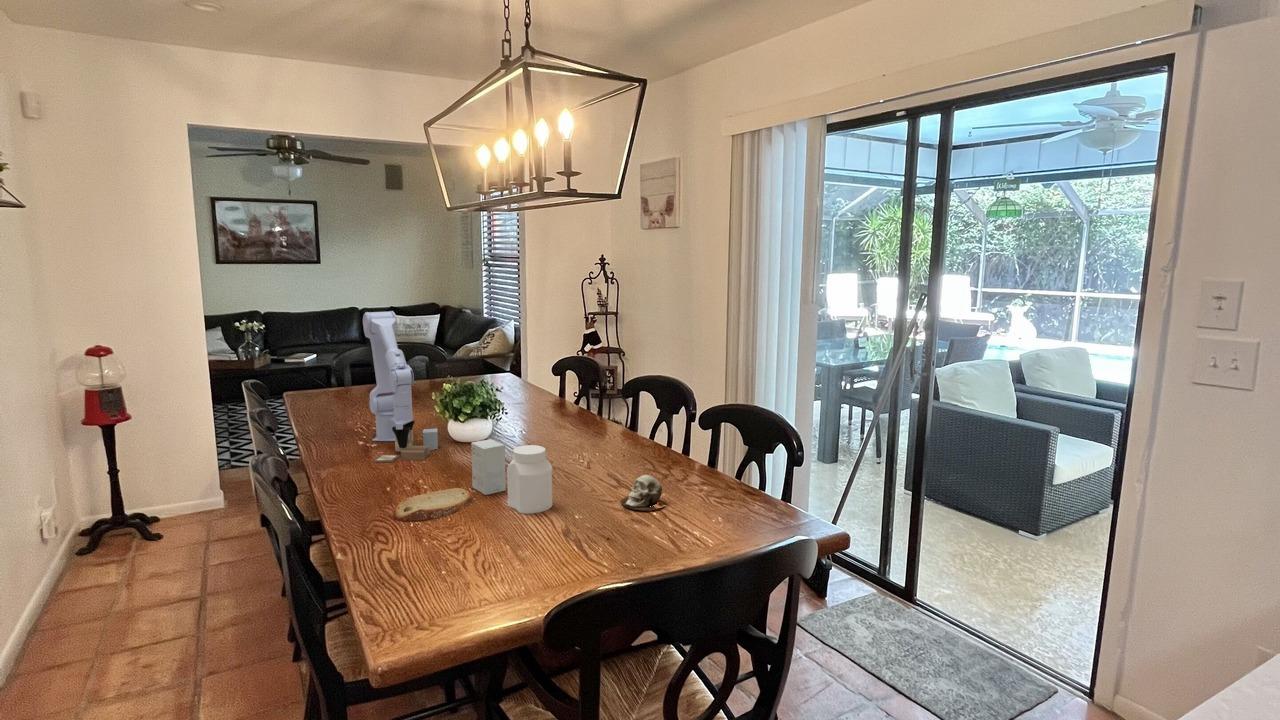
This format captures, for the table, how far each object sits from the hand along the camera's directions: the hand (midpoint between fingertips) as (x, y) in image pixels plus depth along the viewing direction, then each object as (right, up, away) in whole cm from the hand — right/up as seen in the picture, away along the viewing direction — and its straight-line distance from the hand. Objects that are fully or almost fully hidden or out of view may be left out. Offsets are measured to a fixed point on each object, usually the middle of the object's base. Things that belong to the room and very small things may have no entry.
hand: (404, 445), depth 223 cm
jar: (+49, -10, -47) cm, 69 cm away
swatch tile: (-2, -3, -11) cm, 11 cm away
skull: (+79, -10, -45) cm, 91 cm away
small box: (+36, -8, -35) cm, 51 cm away
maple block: (0, -1, 0) cm, 1 cm away
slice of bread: (+25, -10, -49) cm, 56 cm away
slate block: (+8, -1, +2) cm, 8 cm away
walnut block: (+6, -3, -7) cm, 10 cm away
